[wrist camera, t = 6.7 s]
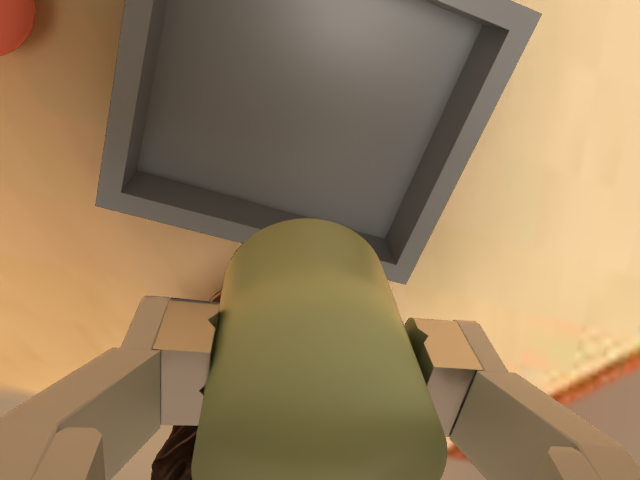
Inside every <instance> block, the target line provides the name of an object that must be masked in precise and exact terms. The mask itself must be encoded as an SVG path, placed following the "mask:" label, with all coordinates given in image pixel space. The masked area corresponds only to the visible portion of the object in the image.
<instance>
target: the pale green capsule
mask: <svg viewBox="0 0 640 480" xmlns="http://www.w3.org/2000/svg"><path fill="white" fill-rule="evenodd" d="M446 460H447V442H446V438H445V434H444V431H443V428H442V425H441V423H440V420H439V417H438V415H437V412H436V409H435V407H434V404H433V401H432V399H431V396H430V393H429V391H428V388H427V385H426V383H425V380H424V377H423V375H422V372H421V369H420V367H419V364H418V361H417V359H416V356H415V353H414V351H413V348H412V345H411V343H410V340H409V337H408V335H407V332H406V329H405V327H404V324H403V321H402V319H401V316H400V313H399V310H398V308H397V305H396V302H395V300H394V297H393V294H392V292H391V289H390V286H389V284H388V281H387V278H386V276H385V273H384V270H383V268H382V265H381V262H380V260H379V258H378V256H377V254H376V253H375V251H374V250H373V248H372V247H371V246H370V245H369V244H368V243H367V241H366V240H365V239H363V238H362V237H361V236H360V235H359V234H357V233H356V232H354V231H352V230H351V229H349V228H347V227H345V226H343V225H340V224H338V223H334V222H331V221H327V220H321V219H311V218H302V219H292V220H287V221H282V222H279V223H276V224H273V225H271V226H268V227H266V228H264V229H262V230H260V231H259V232H257V233H255V234H254V235H252V236H251V237H250V238H249V239H248V240H246V241H245V242H244V243H243V244H242V245H241V246H240V247H239V248H238V250H237V251H236V252H235V254H234V255H233V257H232V258H231V260H230V263H229V265H228V267H227V270H226V273H225V277H224V283H223V288H222V294H221V300H220V314H219V321H218V327H217V333H216V335H215V339H214V350H213V356H212V362H211V367H210V373H209V376H208V379H207V382H206V385H205V390H204V396H203V401H202V407H201V413H200V418H199V424H198V430H197V435H196V441H195V447H194V452H193V459H192V465H191V472H192V480H440V479H441V477H442V474H443V472H444V468H445V465H446Z"/></svg>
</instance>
